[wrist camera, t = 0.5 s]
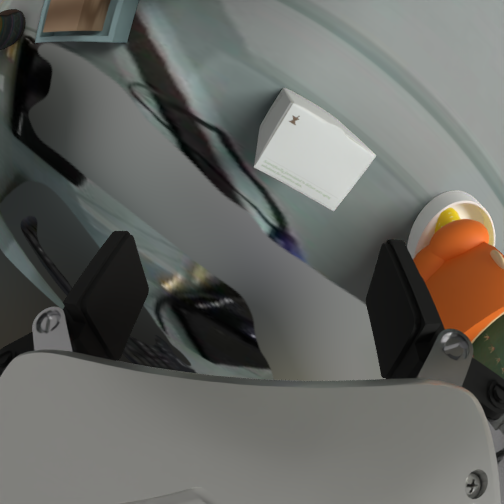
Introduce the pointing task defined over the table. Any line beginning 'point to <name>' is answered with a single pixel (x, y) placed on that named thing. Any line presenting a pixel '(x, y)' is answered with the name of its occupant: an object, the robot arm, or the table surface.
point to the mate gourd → (11, 27)
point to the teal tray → (113, 31)
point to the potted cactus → (463, 271)
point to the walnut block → (76, 15)
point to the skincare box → (310, 150)
